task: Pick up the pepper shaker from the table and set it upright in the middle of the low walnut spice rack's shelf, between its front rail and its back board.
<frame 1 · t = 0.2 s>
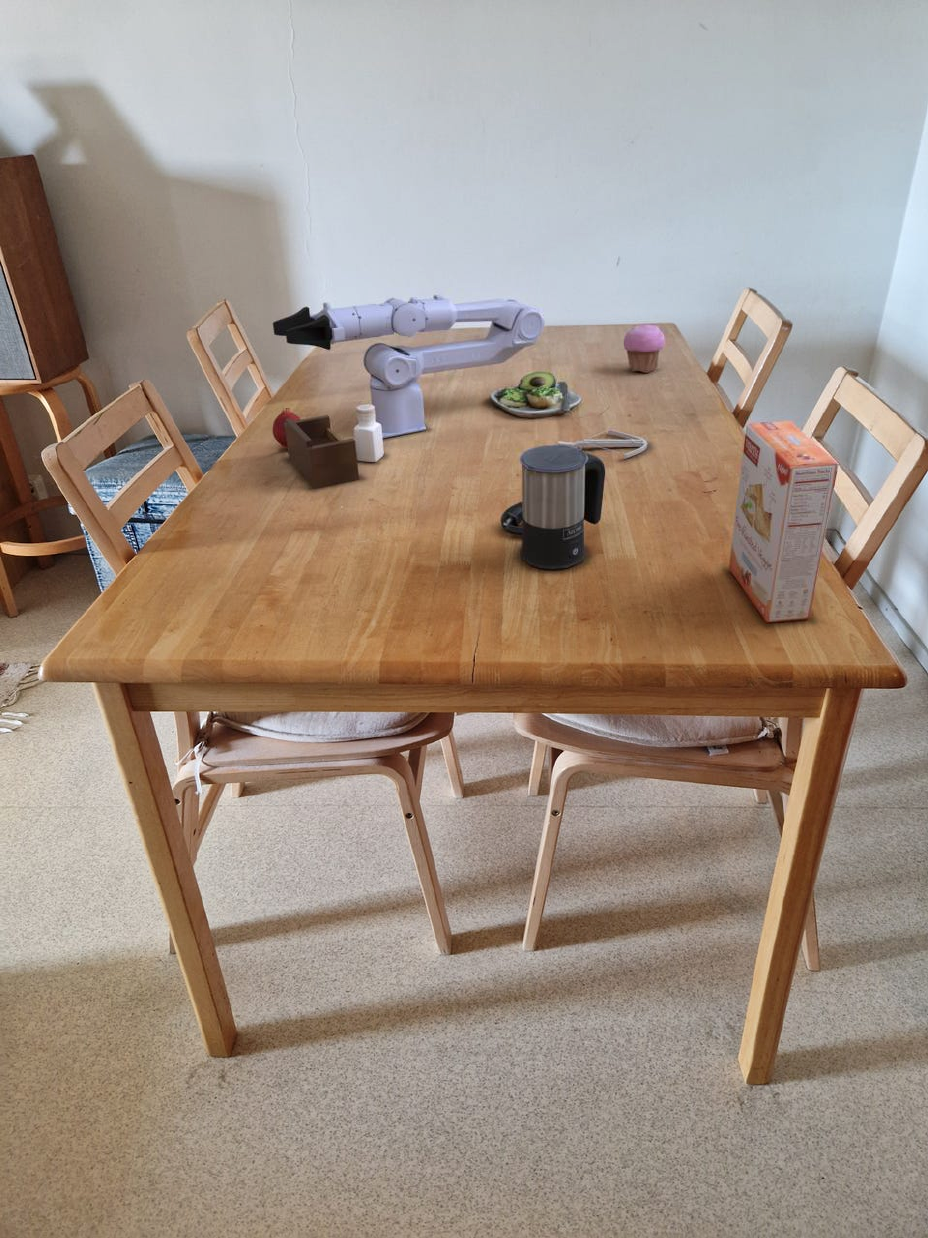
hand: (280, 332, 155), 21 cm above the table, tool horizontal, fingers open, 7 cm apart
cupcake: (642, 371, 199), on the table
crossbow: (602, 449, 161), on the table
salad plate: (535, 404, 183), on the table
onion: (291, 450, 166), on the table
cracker box: (765, 595, 116), on the table
pepper shaker: (370, 459, 161), on the table
milk frother: (539, 544, 130), on the table
spice rack: (323, 469, 157), on the table
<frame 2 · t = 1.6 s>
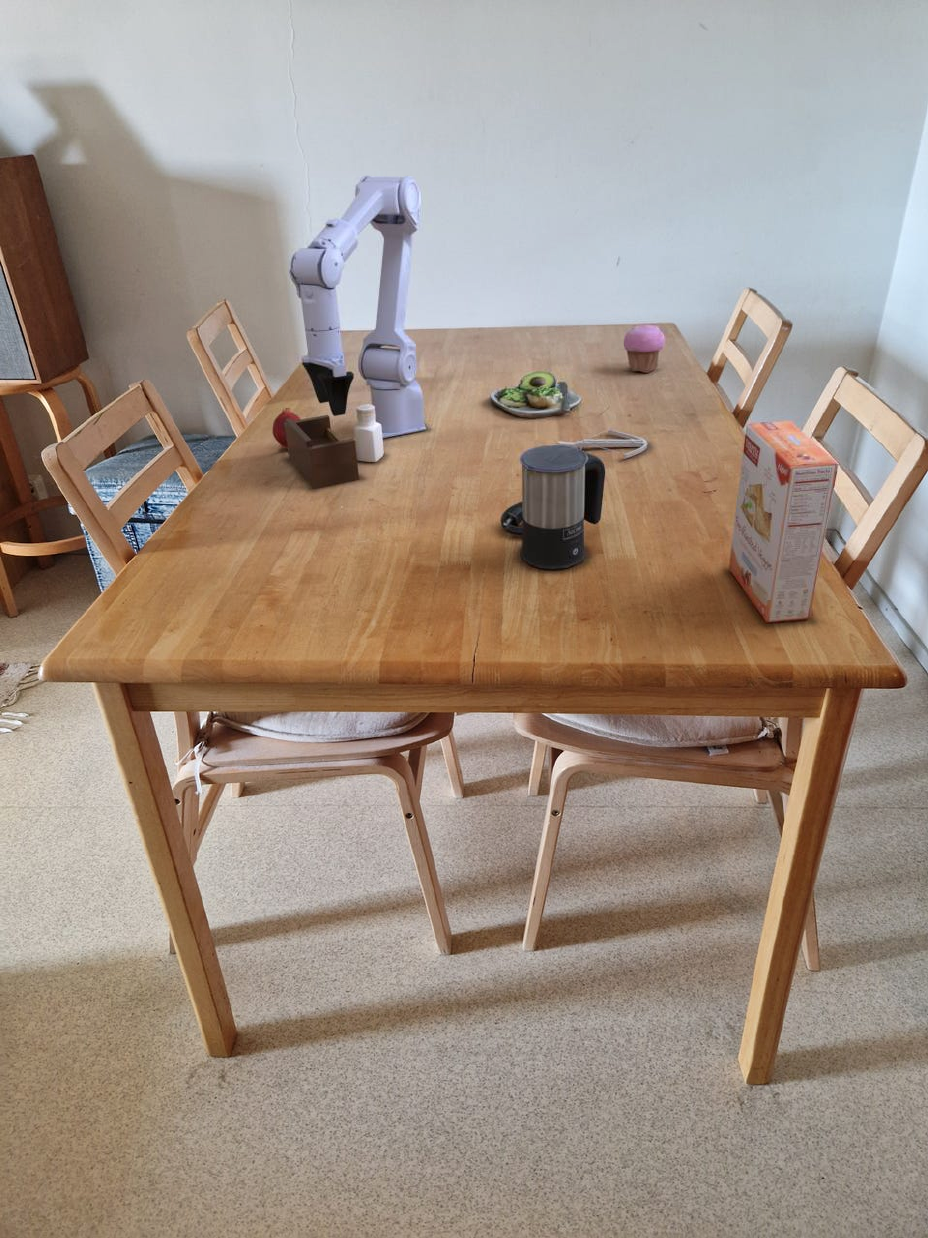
hand: (332, 407, 153), 10 cm above the table, tool pointing down, fingers open, 7 cm apart
nothing on the table moved.
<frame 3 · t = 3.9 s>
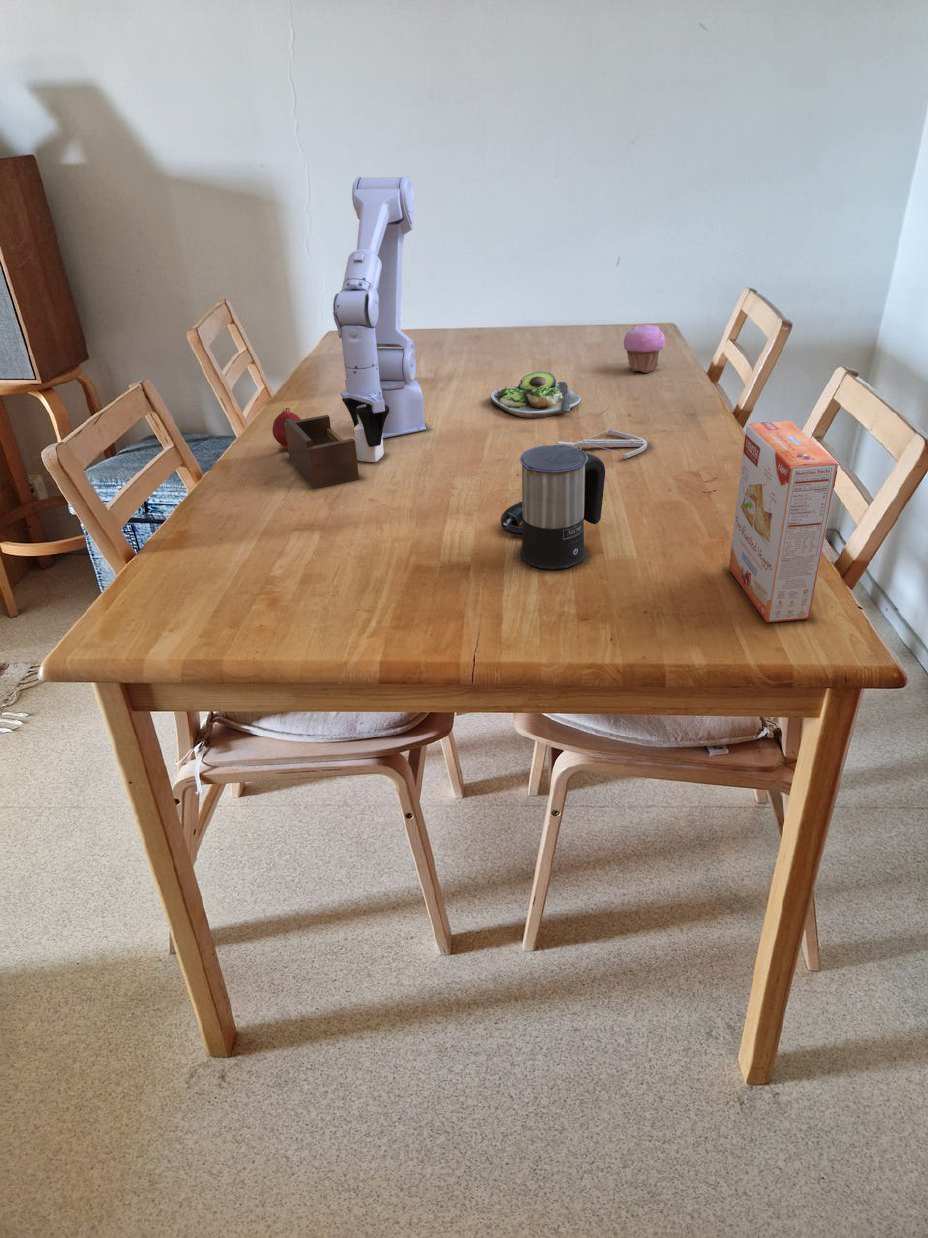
hand: (368, 440, 159), 3 cm above the table, tool pointing down, fingers closed on pepper shaker, 5 cm apart
pepper shaker: (370, 459, 161), on the table, touching gripper
everything else where it was.
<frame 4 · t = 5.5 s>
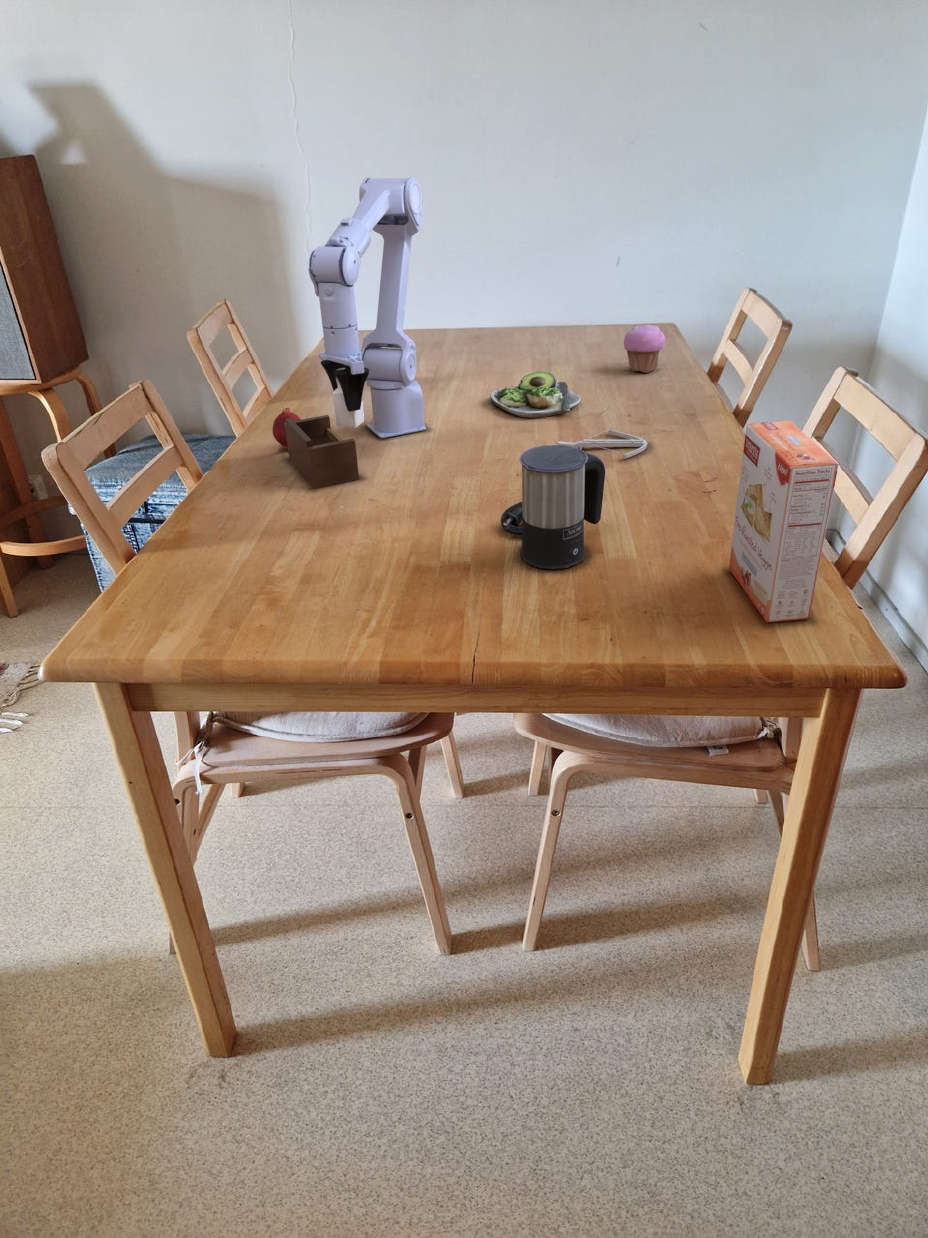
hand: (348, 405, 154), 10 cm above the table, tool pointing down, fingers closed on pepper shaker, 5 cm apart
pepper shaker: (350, 425, 156), point 7 cm above the table, touching gripper
everything else where it was.
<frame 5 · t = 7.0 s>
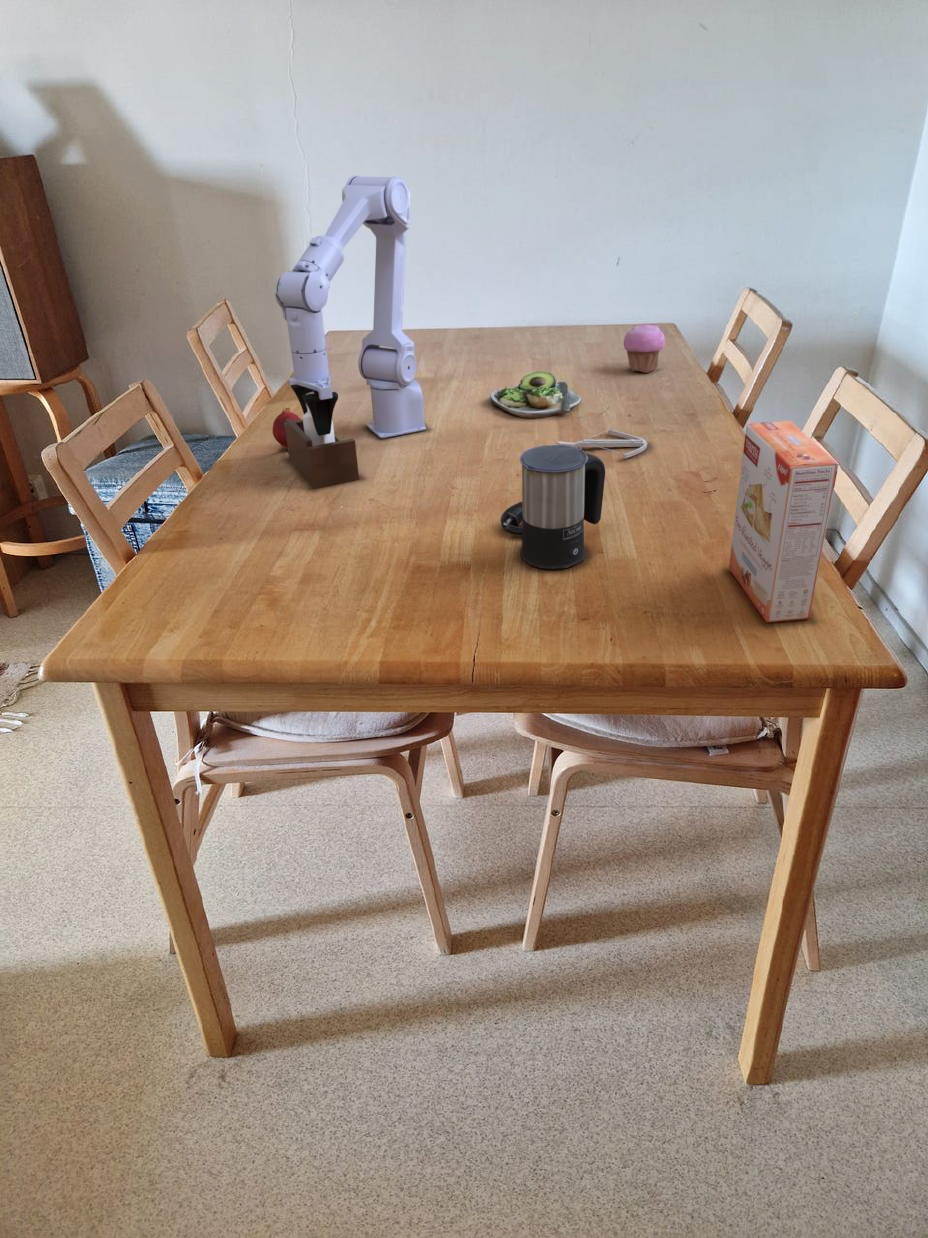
hand: (318, 429, 153), 7 cm above the table, tool pointing down, fingers closed on pepper shaker, 5 cm apart
pepper shaker: (321, 449, 155), point 4 cm above the table, touching gripper
everything else where it was.
when the fingers open (7 cm above the table, at t = 7.6 s): pepper shaker stays where it is, resting on spice rack.
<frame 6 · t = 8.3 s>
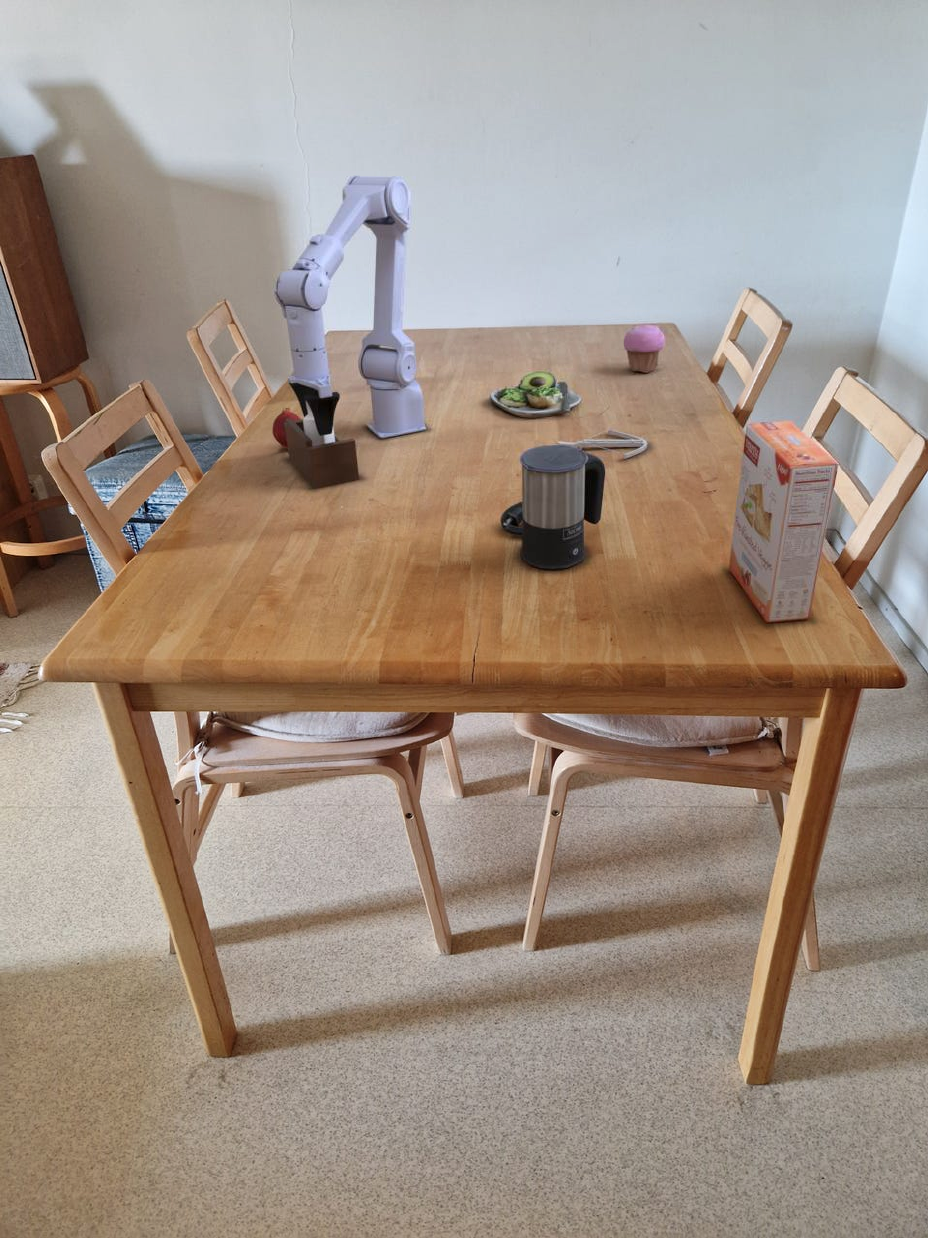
hand: (318, 427, 153), 8 cm above the table, tool pointing down, fingers open, 7 cm apart
pepper shaker: (321, 451, 155), point 3 cm above the table, touching spice rack
everything else where it was.
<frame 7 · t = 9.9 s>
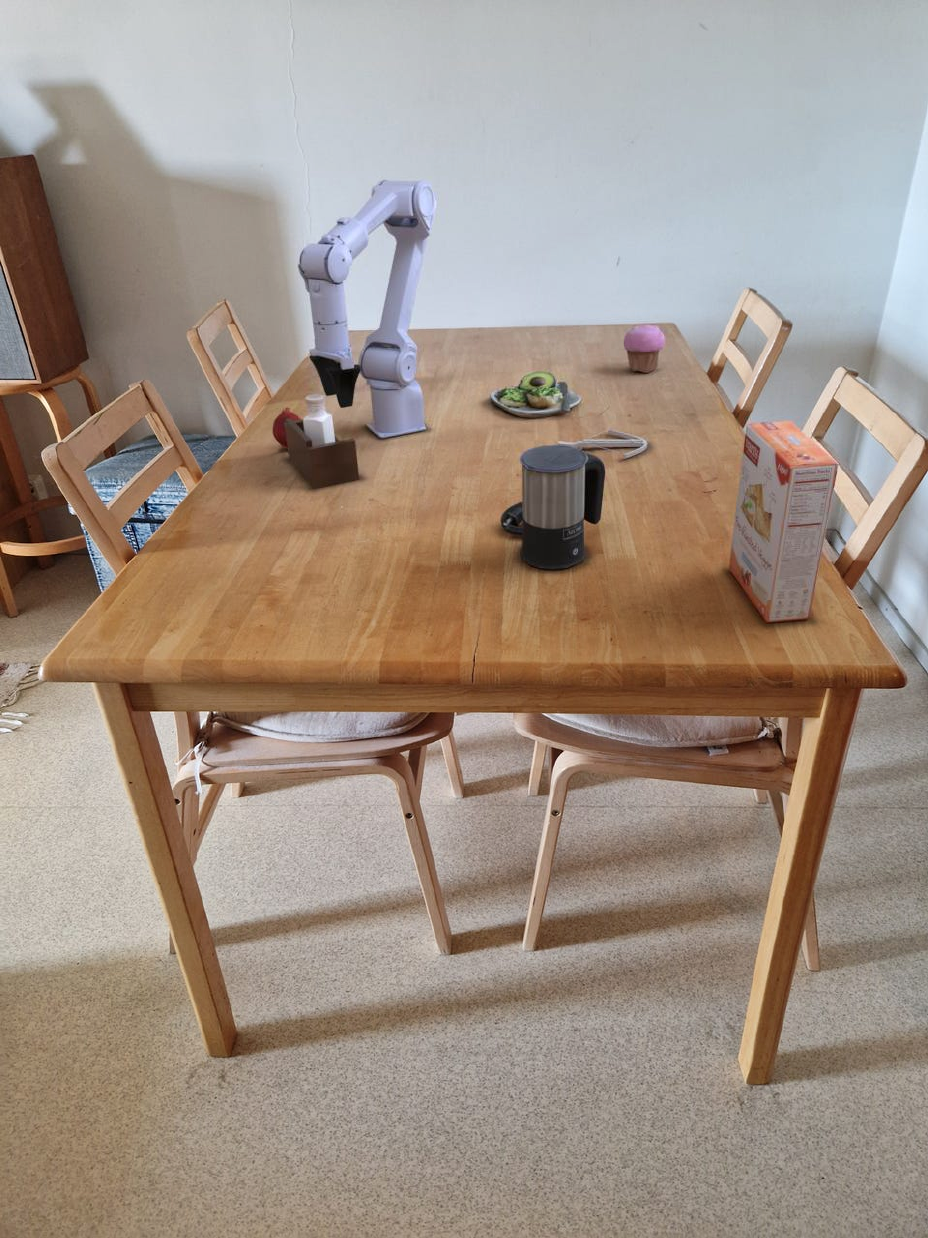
hand: (338, 400, 157), 10 cm above the table, tool pointing down, fingers open, 7 cm apart
nothing on the table moved.
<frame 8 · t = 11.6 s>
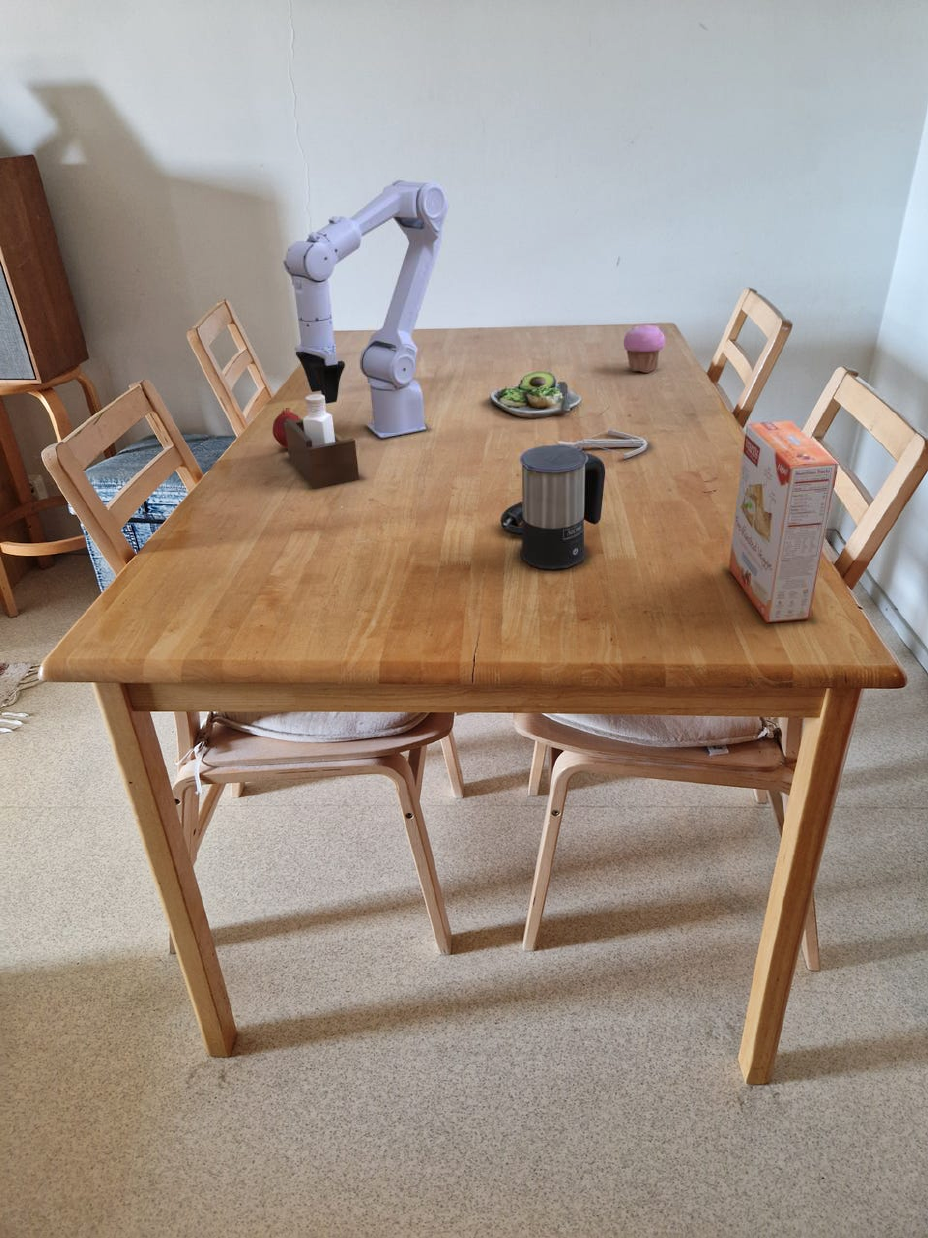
hand: (324, 396, 159), 10 cm above the table, tool pointing down, fingers open, 7 cm apart
nothing on the table moved.
at the end: pepper shaker inside the target area on the spice rack (0.0 cm from its centre), point 3.3 cm above the spice rack's base; pepper shaker tilted 0°; the gripper is holding nothing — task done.
